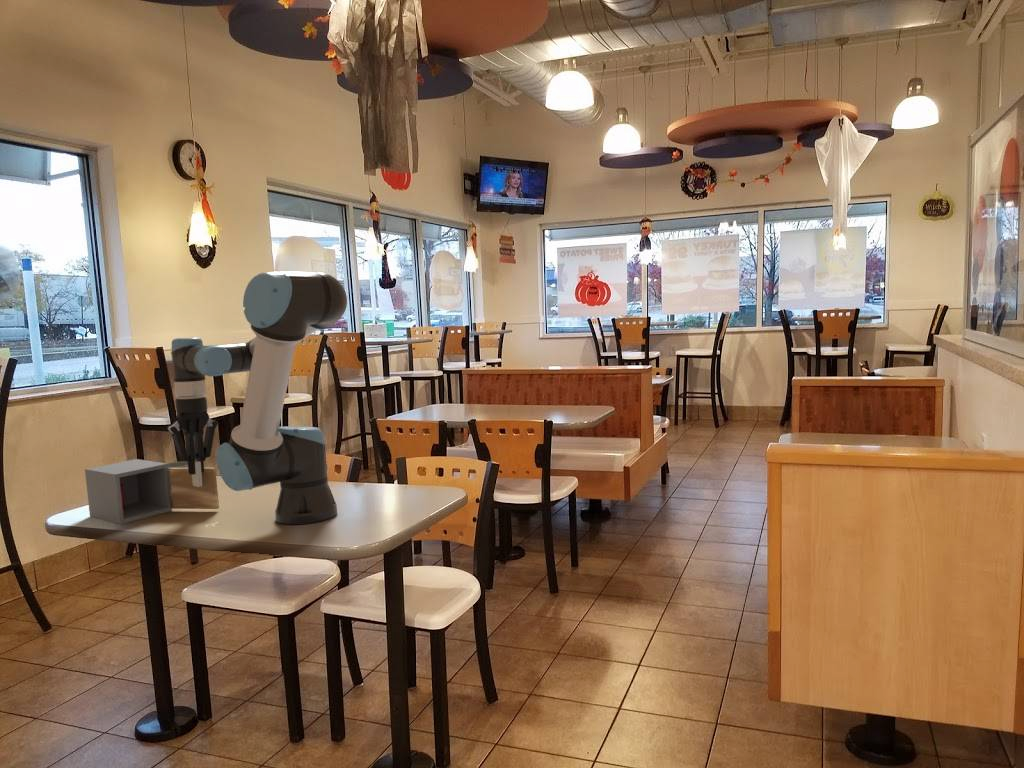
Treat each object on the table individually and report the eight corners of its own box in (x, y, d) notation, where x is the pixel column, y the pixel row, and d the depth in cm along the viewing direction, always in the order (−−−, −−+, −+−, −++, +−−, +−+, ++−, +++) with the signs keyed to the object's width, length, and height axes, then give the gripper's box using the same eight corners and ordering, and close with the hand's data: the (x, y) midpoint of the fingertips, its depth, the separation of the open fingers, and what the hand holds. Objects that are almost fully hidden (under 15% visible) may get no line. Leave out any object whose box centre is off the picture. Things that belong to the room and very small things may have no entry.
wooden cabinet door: (175, 506, 200) (172, 466, 199) (222, 506, 197) (218, 466, 196) (169, 508, 198) (165, 468, 196) (216, 509, 195) (212, 468, 193)
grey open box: (172, 510, 199) (167, 463, 197) (120, 524, 187) (114, 474, 186) (141, 503, 208) (136, 459, 206) (89, 516, 196) (84, 469, 195)
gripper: (207, 393, 198) (213, 479, 200) (159, 398, 188) (166, 488, 190) (221, 395, 193) (227, 482, 195) (173, 400, 183) (180, 492, 185)
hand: (197, 485), depth 193 cm, fingers closed
